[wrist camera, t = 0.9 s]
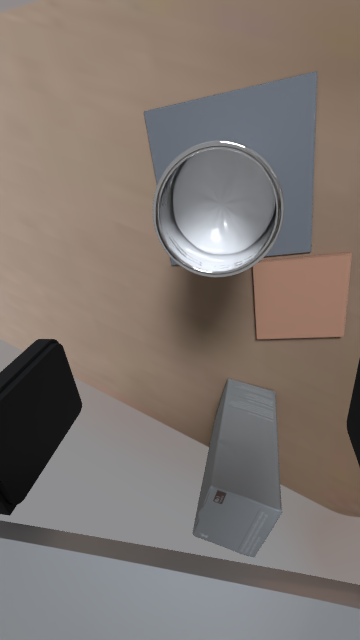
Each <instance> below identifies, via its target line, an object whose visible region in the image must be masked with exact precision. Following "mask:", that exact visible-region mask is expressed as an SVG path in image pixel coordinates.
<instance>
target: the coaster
mask: <svg viewBox="0 0 360 640" xmlns="http://www.w3.org/2000/svg"><path fill="white" fill-rule="evenodd" d="M351 257H352V254H351V253H340V254H329V255H319V256H308V257H297V258H286V259H276V260H265V261H259V262H258V263H257V264H255V265H254V266H253V278H254V296H255V314H256V332H257V339H283V338H315V337H344V329H345V319H346V308H347V298H348V288H349V277H350V267H351Z"/></svg>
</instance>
